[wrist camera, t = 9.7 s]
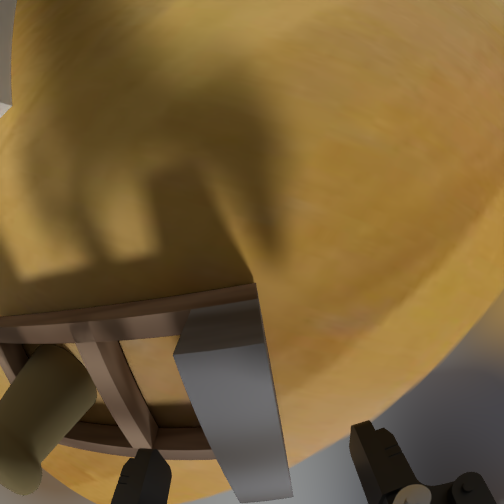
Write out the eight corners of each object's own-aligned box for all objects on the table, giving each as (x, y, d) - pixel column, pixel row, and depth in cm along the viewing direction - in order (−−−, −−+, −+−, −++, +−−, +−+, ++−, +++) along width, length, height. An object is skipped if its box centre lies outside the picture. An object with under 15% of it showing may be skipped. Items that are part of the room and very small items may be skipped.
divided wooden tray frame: (0, 316, 14) (-47, 349, 9) (255, 282, 14) (264, 342, 8) (57, 426, 17) (31, 468, 11) (282, 429, 17) (293, 497, 11)
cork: (29, 371, 16) (-41, 449, 5) (43, 328, 15) (-55, 415, 4) (84, 418, 17) (32, 513, 6) (108, 383, 16) (40, 504, 5)
